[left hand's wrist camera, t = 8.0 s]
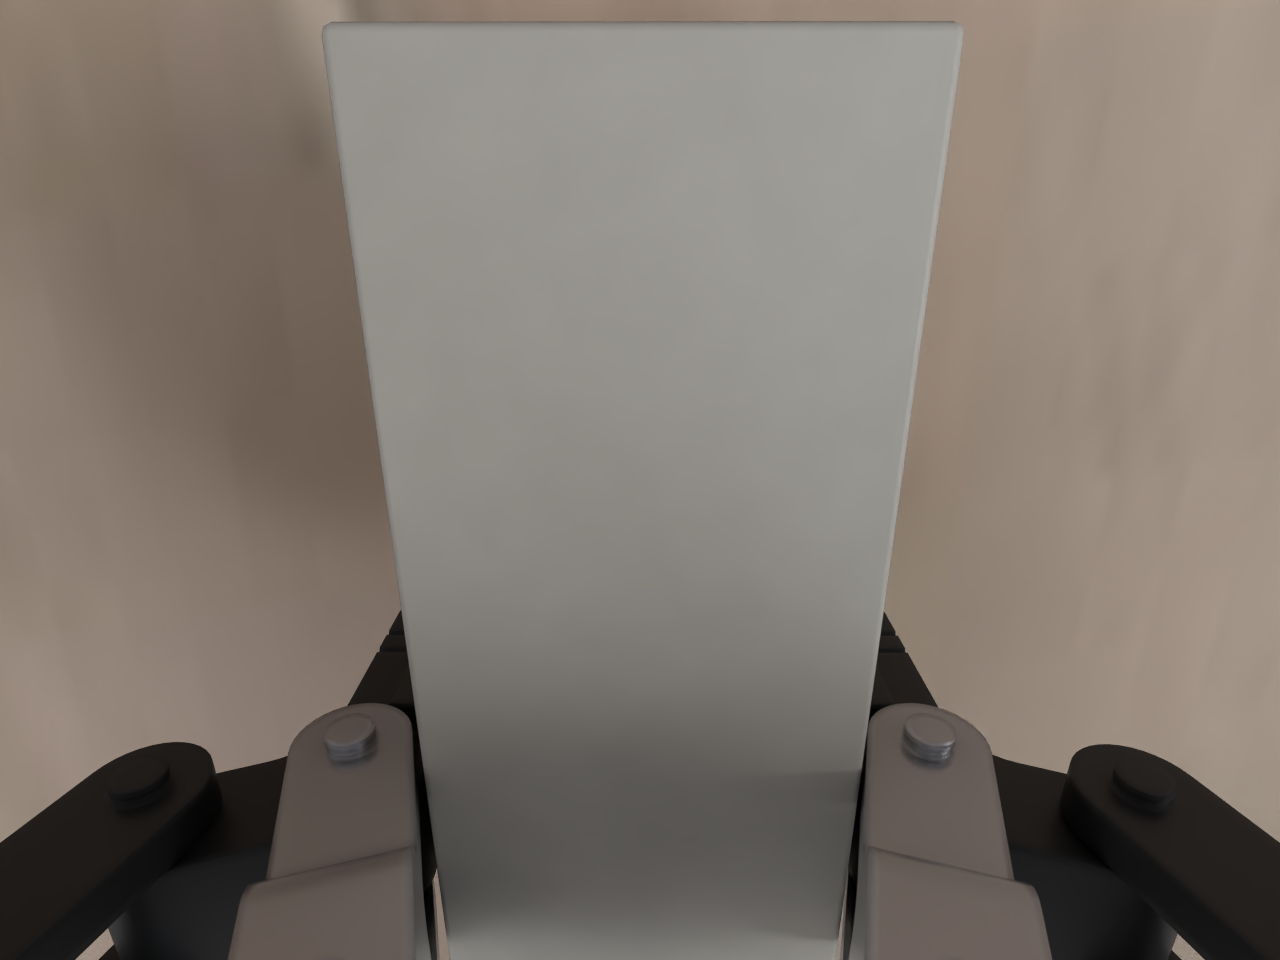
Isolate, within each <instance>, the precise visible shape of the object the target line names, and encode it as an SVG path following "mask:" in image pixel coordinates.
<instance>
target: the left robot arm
mask: <svg viewBox="0 0 1280 960" xmlns="http://www.w3.org/2000/svg"><path fill="white" fill-rule="evenodd" d="M436 869H437V863H436V855H435V848H434V841H433V834H432V827H431V819H430V812H429V805H428V798H427V791H426V783H425V776H424V769H423V762H422V755H421V747H420V740H419V733H418V726H417V718H416V711H415V704H414V697H413V690H412V682H411V675H410V668H409V661H408V654H407V646H406V639H405V632H404V625H403V618H402V610H401V611H400V612H399V614H398V616H397V618H396V619H395V621H394V623H393V625H392V627H391V628H390V630H389V635H387V636H386V637H385V639H384V641H383V643H382V645H381V646H380V652H377V654H376V655H375V657H374V659H373V661H372V663H371V664H370V666H369V668H368V670H367V672H366V673H365V675H364V677H363V679H362V681H361V682H360V684H359V686H358V688H357V690H356V691H355V693H354V695H353V697H352V699H351V700H350V702H349V704H348V706H346V707H342V708H339V709H336V710H333V711H331V712H329V713H327V714H324V715H323V716H321V717H319V718H317V719H316V720H314V721H313V722H311V723H310V724H309V725H307V726H306V727H305V728H304V729H303V730H302V731H301V732H300V733H299V734H298V735H297V736H296V738H295V739H294V741H293V742H292V744H291V746H290V749H289V752H288V756H286V757H283V758H280V759H277V760H273V761H269V762H265V763H261V764H256V765H252V766H248V767H243V768H239V769H234V770H230V771H225V772H221V773H217V774H216V772H215V768H214V764H213V761H212V758H211V755H210V754H209V753H208V752H207V750H205V749H204V748H202V747H201V746H198V745H195V744H191V743H185V742H171V743H162V744H157V745H152V746H148V747H145V748H141V749H138V750H135V751H133V752H130V753H127V754H125V755H123V756H121V757H119V758H117V759H115V760H113V761H111V762H109V763H108V764H106V765H104V766H103V767H101V768H100V769H98V770H97V771H95V772H94V773H92V774H91V775H90V776H88V777H87V778H86V779H84V780H83V781H82V782H80V783H79V784H78V785H77V786H75V787H74V788H73V789H71V790H70V791H69V792H67V793H66V794H65V795H63V796H62V797H61V798H59V799H58V800H57V801H55V802H54V803H53V804H51V805H50V806H49V807H47V808H46V809H45V810H43V811H42V812H41V813H39V814H38V815H37V816H35V817H34V818H33V819H31V820H30V821H29V822H27V823H26V824H25V825H23V826H22V827H21V828H19V829H18V830H17V831H15V832H14V833H13V834H11V835H10V836H9V837H7V838H6V839H5V840H3V841H2V842H1V843H0V960H75V959H76V958H77V957H78V956H79V955H80V954H81V953H82V952H84V951H85V950H86V949H87V948H88V947H89V946H90V945H91V944H92V943H93V942H94V941H95V940H96V939H97V938H98V937H99V936H100V935H101V934H102V933H103V932H104V931H105V930H106V929H107V928H108V929H109V932H110V934H111V937H112V940H113V942H114V945H113V946H112V947H111V948H110V949H109V950H108V951H107V952H106V953H105V954H104V955H103V956H102V957H101V958H100V959H99V960H440V958H439V942H438V926H437V911H436V895H435V887H434V880H433V878H434V875H435V872H436ZM1177 934H1179V935H1180V936H1181V937H1182V938H1183V939H1184V940H1185V941H1186V942H1187V943H1188V944H1189V945H1190V946H1191V947H1192V948H1193V949H1194V950H1195V951H1197V952H1198V953H1199V954H1200V955H1201V956H1202V957H1203V958H1204V959H1205V960H1280V843H1279V842H1278V841H1277V840H1275V839H1274V838H1273V837H1271V836H1270V835H1269V834H1267V833H1266V832H1265V831H1263V830H1262V829H1261V828H1259V827H1258V826H1257V825H1255V824H1254V823H1253V822H1251V821H1250V820H1249V819H1247V818H1246V817H1245V816H1243V815H1242V814H1241V813H1239V812H1238V811H1237V810H1235V809H1234V808H1233V807H1231V806H1230V805H1229V804H1227V803H1226V802H1225V801H1223V800H1222V799H1221V798H1219V797H1218V796H1217V795H1215V794H1214V793H1213V792H1211V791H1210V790H1209V789H1207V788H1206V787H1205V786H1204V785H1202V784H1201V783H1200V782H1198V781H1197V780H1196V779H1194V778H1193V777H1192V776H1190V775H1189V774H1187V773H1186V772H1184V771H1183V770H1182V769H1180V768H1178V767H1177V766H1175V765H1173V764H1171V763H1170V762H1168V761H1166V760H1164V759H1161V758H1159V757H1157V756H1155V755H1152V754H1150V753H1147V752H1144V751H1141V750H1138V749H1134V748H1130V747H1125V746H1120V745H1110V744H1100V745H1093V746H1088V747H1085V748H1082V749H1081V750H1079V751H1078V752H1076V753H1075V755H1074V756H1073V757H1072V759H1071V762H1070V765H1069V769H1068V773H1067V774H1064V773H1060V772H1055V771H1051V770H1047V769H1042V768H1038V767H1033V766H1029V765H1024V764H1020V763H1016V762H1012V761H1009V760H1005V759H1002V758H1000V757H997V756H994V755H992V752H991V749H990V746H989V744H988V742H987V741H986V739H985V738H984V736H983V735H982V734H981V733H980V732H979V731H978V730H977V729H976V728H975V727H974V726H973V725H971V724H970V723H969V722H967V721H966V720H964V719H963V718H961V717H959V716H957V715H956V714H953V713H951V712H949V711H947V710H944V709H941V708H938V706H937V704H936V703H935V701H934V699H933V697H932V695H931V694H930V692H929V690H928V688H927V687H926V685H925V683H924V681H923V680H922V678H921V676H920V674H919V672H918V671H917V669H916V667H915V665H914V664H913V662H912V660H911V658H910V657H909V655H908V653H905V648H904V646H903V644H902V642H901V641H900V639H899V637H898V636H896V635H895V630H894V628H893V626H892V625H891V623H890V621H889V619H888V618H887V616H886V614H885V612H884V613H883V620H882V627H881V634H880V641H879V648H878V656H877V663H876V670H875V677H874V684H873V692H872V699H871V706H870V713H869V720H868V728H867V735H866V742H865V749H864V756H863V763H862V771H861V778H860V785H859V792H858V799H857V807H856V814H855V821H854V828H853V835H852V843H851V850H850V857H849V864H848V873H847V880H846V887H845V895H844V911H843V927H842V942H841V958H840V960H1181V959H1180V958H1179V957H1178V956H1177V955H1176V954H1175V953H1174V952H1173V951H1172V947H1173V944H1174V942H1175V939H1176V937H1177Z"/></svg>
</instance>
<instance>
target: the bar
mask: <svg viewBox="0 0 1280 960" xmlns="http://www.w3.org/2000/svg"><path fill="white" fill-rule="evenodd" d="M963 37H964V32H963V26H962V25H960V24H958V23H956V22H954V21H648V22H331V23H329V24H327V25H325V26H323V31H322V41H323V48H324V55H325V62H326V70H327V77H328V84H329V91H330V98H331V106H332V113H333V120H334V127H335V134H336V142H337V149H338V156H339V163H340V171H341V178H342V185H343V192H344V199H345V207H346V214H347V221H348V228H349V235H350V243H351V250H352V257H353V264H354V271H355V279H356V286H357V293H358V300H359V308H360V315H361V322H362V329H363V336H364V344H365V351H366V358H367V365H368V372H369V380H370V387H371V394H372V401H373V408H374V416H375V423H376V430H377V437H378V445H379V452H380V459H381V466H382V473H383V481H384V488H385V495H386V502H387V509H388V517H389V524H390V531H391V538H392V545H393V553H394V560H395V567H396V574H397V581H398V589H399V596H400V603H401V610H402V618H403V625H404V632H405V639H406V646H407V654H408V661H409V668H410V675H411V682H412V690H413V697H414V704H415V711H416V718H417V726H418V733H419V740H420V747H421V755H422V762H423V769H424V776H425V783H426V791H427V798H428V805H429V812H430V819H431V827H432V834H433V841H434V848H435V855H436V863H437V870H438V877H439V884H440V892H441V899H442V906H443V913H444V920H445V928H446V935H447V942H448V949H449V956H450V960H835V958H836V950H837V943H838V936H839V929H840V922H841V914H842V907H843V900H844V893H845V886H846V878H847V871H848V864H849V857H850V850H851V843H852V835H853V828H854V821H855V814H856V807H857V799H858V792H859V785H860V778H861V771H862V763H863V756H864V749H865V742H866V735H867V728H868V720H869V713H870V706H871V699H872V692H873V684H874V677H875V670H876V663H877V656H878V648H879V641H880V634H881V627H882V620H883V613H884V605H885V598H886V591H887V584H888V577H889V569H890V562H891V555H892V548H893V541H894V533H895V526H896V519H897V512H898V505H899V498H900V490H901V483H902V476H903V469H904V462H905V454H906V447H907V440H908V433H909V426H910V418H911V411H912V404H913V397H914V390H915V382H916V375H917V368H918V361H919V354H920V347H921V339H922V332H923V325H924V318H925V311H926V303H927V296H928V289H929V282H930V275H931V267H932V260H933V253H934V246H935V239H936V232H937V224H938V217H939V210H940V203H941V196H942V188H943V181H944V174H945V167H946V160H947V152H948V145H949V138H950V131H951V124H952V117H953V109H954V102H955V95H956V88H957V81H958V73H959V66H960V59H961V52H962V45H963Z"/></svg>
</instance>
